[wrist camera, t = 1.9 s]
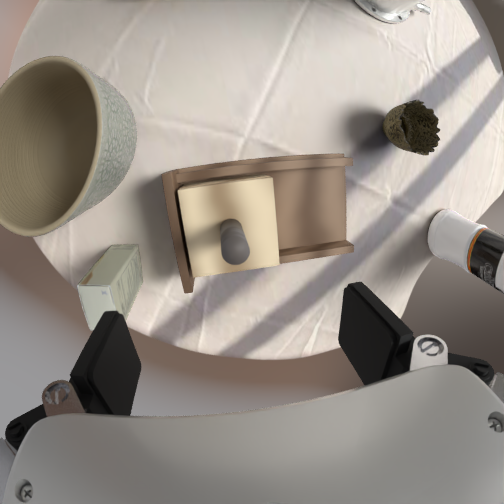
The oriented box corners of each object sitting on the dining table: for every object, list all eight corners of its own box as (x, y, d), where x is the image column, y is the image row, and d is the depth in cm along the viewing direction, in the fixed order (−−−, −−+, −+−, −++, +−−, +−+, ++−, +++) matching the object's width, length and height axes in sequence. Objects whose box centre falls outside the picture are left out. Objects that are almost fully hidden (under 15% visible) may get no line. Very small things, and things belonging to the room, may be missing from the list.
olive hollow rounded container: (413, 124, 34) (446, 123, 27) (397, 160, 36) (431, 165, 29) (380, 96, 32) (412, 89, 25) (362, 134, 34) (394, 132, 27)
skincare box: (111, 244, 35) (74, 281, 24) (139, 243, 36) (109, 282, 24) (117, 284, 37) (88, 332, 26) (143, 285, 38) (121, 334, 27)
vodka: (461, 222, 42) (578, 284, 14) (441, 262, 44) (551, 341, 16) (440, 198, 39) (579, 258, 12) (417, 242, 42) (550, 329, 14)
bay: (340, 153, 35) (365, 155, 28) (343, 247, 40) (365, 264, 34) (171, 170, 33) (161, 174, 27) (189, 269, 38) (184, 293, 32)
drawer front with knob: (263, 173, 34) (290, 184, 22) (270, 248, 37) (296, 294, 25) (183, 184, 33) (165, 201, 21) (196, 258, 36) (188, 310, 24)
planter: (36, 121, 27) (-33, 118, 13) (131, 66, 27) (85, 23, 13) (65, 221, 33) (3, 260, 19) (164, 177, 33) (128, 194, 19)
